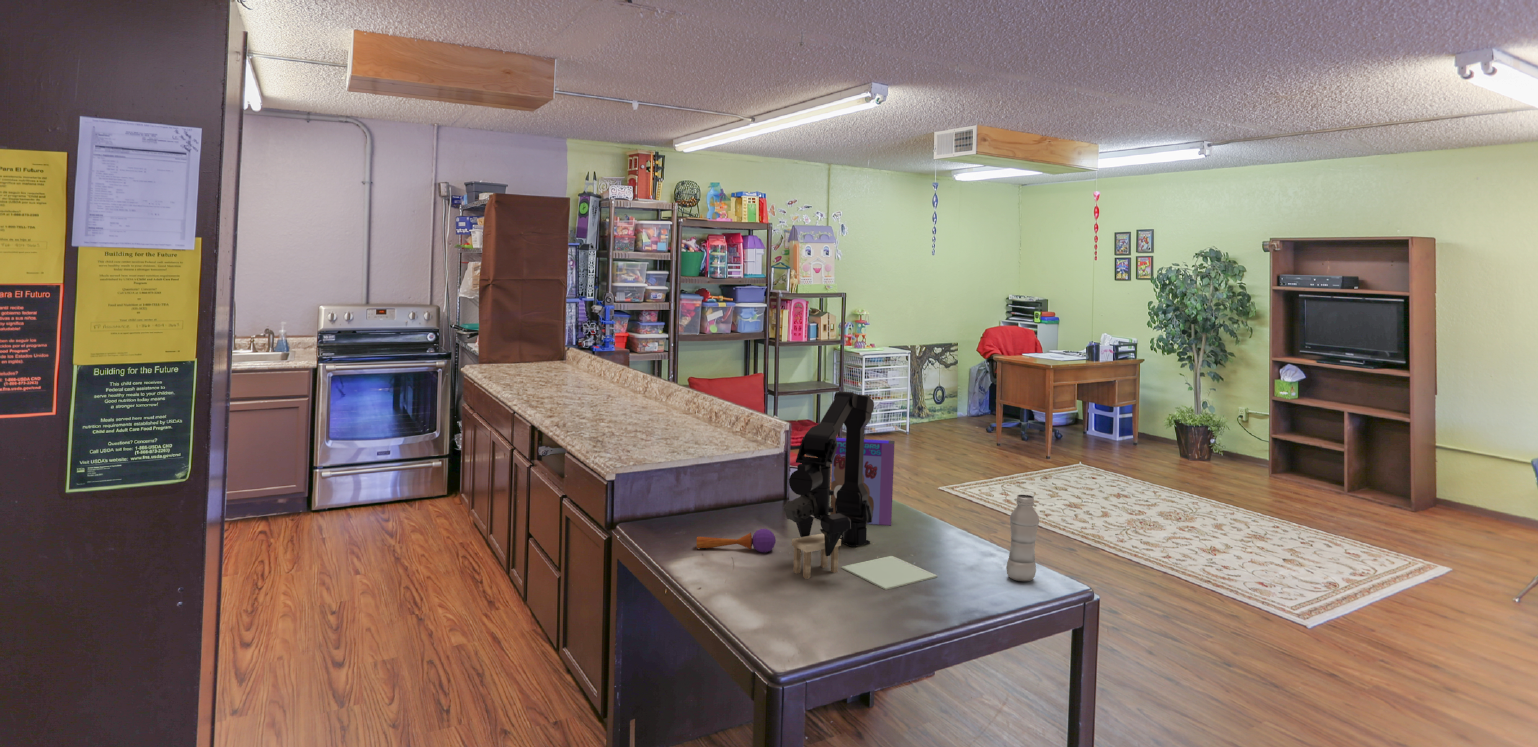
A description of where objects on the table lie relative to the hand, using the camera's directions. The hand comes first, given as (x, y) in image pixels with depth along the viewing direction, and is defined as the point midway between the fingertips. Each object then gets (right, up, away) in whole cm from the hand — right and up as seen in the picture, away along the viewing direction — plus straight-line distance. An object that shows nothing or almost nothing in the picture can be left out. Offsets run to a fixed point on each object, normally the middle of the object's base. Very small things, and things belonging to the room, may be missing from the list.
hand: (816, 550), depth 190 cm
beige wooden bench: (0, -5, +1) cm, 5 cm away
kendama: (-20, -4, +15) cm, 25 cm away
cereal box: (+15, -1, +43) cm, 45 cm away
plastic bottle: (+48, -7, -2) cm, 48 cm away
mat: (+17, -6, +1) cm, 18 cm away
